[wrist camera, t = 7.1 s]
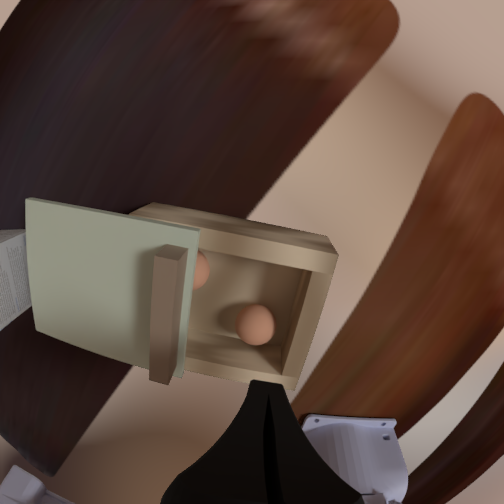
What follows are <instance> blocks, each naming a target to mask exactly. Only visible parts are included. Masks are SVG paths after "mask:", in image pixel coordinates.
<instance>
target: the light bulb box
mask: <svg viewBox="0 0 504 504" xmlns="http://www.w3.org/2000/svg"><path fill="white" fill-rule="evenodd" d="M30 306H32V301H31V293H30V285H29V275H28V263H27V248H26V229H18V230H0V331H1V330H2V329H3V328H4V327H5V326H7V325H8V324H9V323H10V322H12V321H13V320H14V319H15V318H17V317H18V316H19V315H20V314H22V313H23V312H24V311H25V310H27V309H28V308H29V307H30Z"/></svg>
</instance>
